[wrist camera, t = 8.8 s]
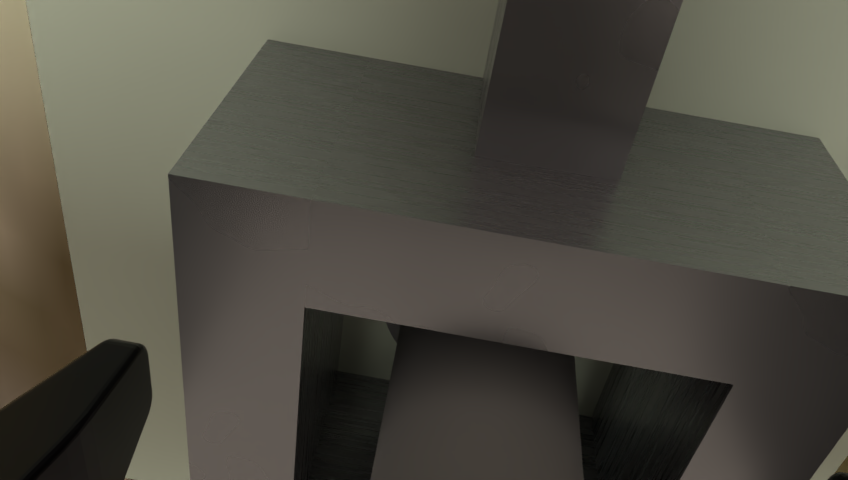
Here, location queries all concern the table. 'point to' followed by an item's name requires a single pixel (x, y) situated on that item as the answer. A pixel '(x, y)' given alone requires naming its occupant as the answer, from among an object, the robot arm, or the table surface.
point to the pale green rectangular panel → (361, 338)
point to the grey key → (510, 251)
